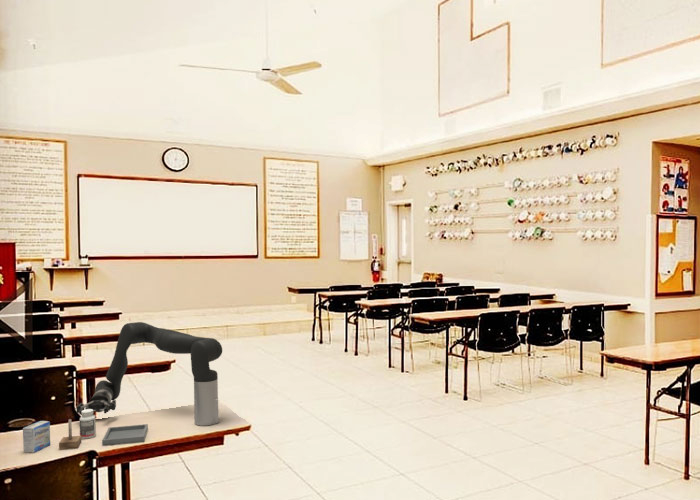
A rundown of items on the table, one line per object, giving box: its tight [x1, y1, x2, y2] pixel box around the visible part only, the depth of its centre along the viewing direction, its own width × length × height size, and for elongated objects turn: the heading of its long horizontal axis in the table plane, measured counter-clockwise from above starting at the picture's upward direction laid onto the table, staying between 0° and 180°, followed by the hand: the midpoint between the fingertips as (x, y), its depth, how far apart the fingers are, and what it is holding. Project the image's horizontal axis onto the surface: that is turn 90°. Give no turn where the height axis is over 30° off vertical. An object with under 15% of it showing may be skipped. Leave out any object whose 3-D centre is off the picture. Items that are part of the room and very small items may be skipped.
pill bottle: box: [79, 409, 97, 440], centre depth 207 cm, size 5×5×10 cm
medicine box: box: [22, 420, 51, 454], centre depth 195 cm, size 8×4×9 cm, turn 168°
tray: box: [101, 423, 149, 447], centre depth 206 cm, size 14×14×2 cm
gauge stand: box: [58, 418, 82, 451], centre depth 197 cm, size 6×6×10 cm
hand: (93, 411), depth 217 cm, fingers open, 8 cm apart
